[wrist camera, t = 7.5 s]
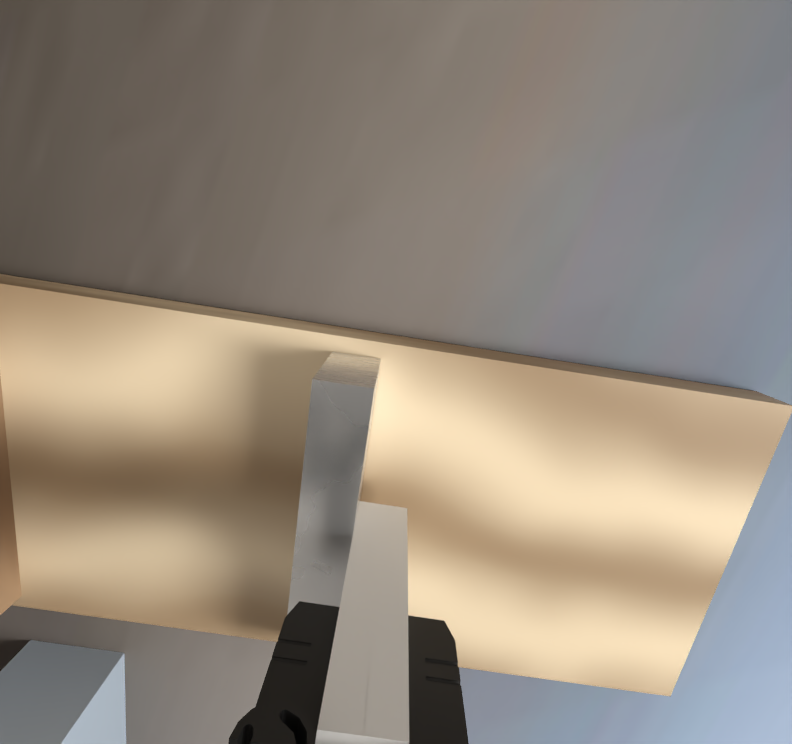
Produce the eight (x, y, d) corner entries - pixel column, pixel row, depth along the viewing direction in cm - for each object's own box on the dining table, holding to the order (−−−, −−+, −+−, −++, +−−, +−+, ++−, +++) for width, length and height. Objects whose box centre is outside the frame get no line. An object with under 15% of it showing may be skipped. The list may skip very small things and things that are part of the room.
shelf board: (649, 660, 18) (725, 789, 14) (-2, 569, 18) (-135, 673, 13) (756, 391, 15) (900, 448, 11) (-36, 268, 14) (-228, 275, 10)
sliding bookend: (338, 641, 16) (324, 725, 13) (299, 635, 16) (276, 718, 13) (380, 358, 13) (374, 388, 10) (332, 351, 13) (312, 379, 10)
